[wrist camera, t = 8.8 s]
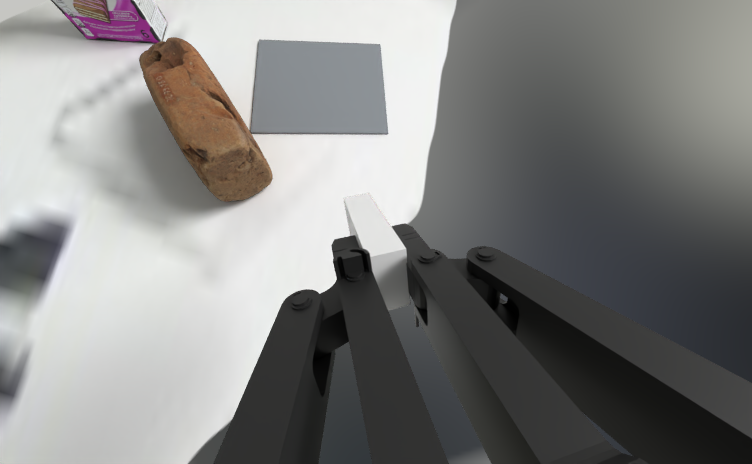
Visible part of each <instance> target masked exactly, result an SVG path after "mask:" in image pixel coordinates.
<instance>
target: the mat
mask: <svg viewBox="0 0 752 464" xmlns="http://www.w3.org/2000/svg"><path fill="white" fill-rule="evenodd" d="M251 133H260V134H388V126H387V115H386V103H385V92H384V81H383V70H382V58H381V47H380V44H360V43H334V42H308V41H281V40H259V46H258V57H257V68H256V79H255V90H254V102H253V113H252V124H251Z"/></svg>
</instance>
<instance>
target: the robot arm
mask: <svg viewBox="0 0 752 464" xmlns="http://www.w3.org/2000/svg"><path fill="white" fill-rule="evenodd" d="M343 199H344V204H345V210H346V215H347V220H348V226H349V231H350V236H349V237H344V238H339V239H335V240H334V242H333V244H332V251H333V257H334V259H333V263H334V268H335V272H336V276H337V280H336V282H335V284H334V285H333V286H332V287H331V288H330V289H328V290H327V291H325V292H323V293H321V294H319V293H318V292H316V291H314V290H301V291H298V292H295V293H293V294H291V295H290V296H289V297H287V298H286V299H285V301H284V302H283V304H282V305H281V308H280V310H279V312H278V315H277V317H276V319H275V322H274V324H273V326H272V329H271V331H270V333H269V336H268V338H267V340H266V343H265V345H264V347H263V350H262V352H261V354H260V357H259V359H258V361H257V364H256V366H255V368H254V371H253V373H252V375H251V378H250V380H249V382H248V385H247V387H246V389H245V391H244V394H243V396H242V398H241V401H240V403H239V405H238V408H237V410H236V412H235V415H234V417H233V419H232V422H231V424H230V426H229V429H228V431H227V433H226V436H225V438H224V440H223V443H222V445H221V447H220V450H219V452H218V454H217V457H216V459H215V461H214V464H319V458H320V451H321V444H322V438H323V432H324V425H325V418H326V412H327V405H328V399H329V393H330V386H331V379H332V372H333V366H334V360H335V349H337V348H339V347H340V346H342V345H344V344H345V343H347V342H349V344H350V349H351V354H352V359H353V364H354V369H355V375H356V380H357V386H358V391H359V396H360V401H361V406H362V412H363V417H364V422H365V427H366V433H367V438H368V443H369V448H370V454H371V459H372V464H449V463H448V461H447V458H446V456H445V453H444V451H443V448H442V446H441V443H440V440H439V438H438V435H437V433H436V430H435V428H434V425H433V423H432V420H431V418H430V415H429V413H428V410H427V408H426V405H425V403H424V400H423V398H422V395H421V393H420V390H419V388H418V385H417V383H416V380H415V377H414V375H413V372H412V370H411V367H410V365H409V363H408V360H407V357H406V355H405V352H404V350H403V347H402V345H401V342H400V340H399V337H398V335H397V332H396V330H395V327H394V325H393V322H392V320H391V317H390V314H389V312H388V310H392V309H396V308H399V307H403V306H407V305H410V304H411V302H410V296H411V297H412V299H413V301H414V310H415V323H416V327H418V326H419V322H420V324H421V325H422V327H423V329H424V331H425V333H426V335H427V337H428V339H429V341H430V343H431V345H432V347H433V349H434V351H435V353H436V355H437V357H438V359H439V361H440V363H441V365H442V367H443V369H444V371H445V373H446V374H447V377H448V379H449V381H450V383H451V385H452V387H453V388H454V391H455V392H456V394H457V396H458V398H459V400H460V402H461V404H462V406H463V408H464V410H465V412H466V414H467V416H468V418H469V420H470V422H471V424H472V426H473V428H474V430H475V432H476V434H477V436H478V438H479V440H480V442H481V443H482V446H483V448H484V449H485V452H486V453H487V456H488V458H489V459H490V461H491V463H492V464H752V383H750V382H748V381H746V380H745V379H743V378H741V377H739V376H737V375H735V374H733V373H731V372H729V371H728V370H726V369H724V368H722V367H720V366H718V365H716V364H714V363H712V362H710V361H709V360H707V359H705V358H703V357H701V356H699V355H697V354H695V353H693V352H691V351H689V350H688V349H686V348H683V347H682V346H680V345H678V344H676V343H674V342H672V341H671V340H668V339H667V338H665V337H663V336H661V335H659V334H657V333H655V332H653V331H652V330H650V329H648V328H646V327H644V326H642V325H640V324H638V323H636V322H634V321H633V320H630V319H629V318H627V317H625V316H623V315H621V314H619V313H617V312H615V311H614V310H612V309H610V308H608V307H606V306H604V305H602V304H600V303H598V302H596V301H595V300H593V299H590V298H589V297H587V296H585V295H583V294H581V293H579V292H577V291H576V290H574V289H572V288H570V287H568V286H566V285H564V284H562V283H560V282H558V281H557V280H555V279H553V278H551V277H549V276H547V275H545V274H543V273H541V272H539V271H537V270H536V269H534V268H532V267H530V266H528V265H526V264H524V263H522V262H520V261H518V260H517V259H515V258H513V257H511V256H509V255H507V254H505V253H503V252H501V251H500V250H497V249H495V248H492V247H486V246H482V247H475V248H472V249H471V250H469V251H468V253H467V259H448V258H447V257H446V256H445V255H444V254H443V253H441V252H440V251H437V250H435V249H430V248H429V247H428V245H427V244H426V243H425V242H424V241H423V239H422V238H421V237H420V236H419V234H418V233H417V232H416V231H415V230H414V228H413V227H411V226H409V225H407V224H400V225H396V226H391V225H390V224H389V222H388V221H387V219H386V218H385V216H384V215H383V213H382V212H381V210H380V209H379V207H378V206H377V204H376V203H375V201H374V200H373V198H372V197H371V195H370V194H369V193H366V194H360V195H355V196H350V197H345V198H343ZM501 293H502V294H503V295H505V296H506V297H508V301H507V302H506V301H504V300H502V299H501V298H500V294H501ZM582 412H583V413H584V414H585V415H586V416H587V417H588V418H590V419H591V420H592V421H593V422H594V423H596V424H597V425H598V426H599V427H600V428H601V429H603V430H604V431H605V432H606V433H607V434H608V435H610V436H611V437H612V438H613V439H614V440H616V441H617V442H618V443H619V444H620V445H621V446H622V447H624V448H625V449H626V450H627V451H628V452H629V453H631V454H632V455H633V456H630V455H627V454H623V453H621V452H619V451H618V450H616V449H615V448H614V447H613V446H612V445H611V444H610V443H609V442H608V441H607V440H606V439H605V438H604V437H603V436H602V435H601V434H600V432H599V431H598V430H597V429H596V428H595V427H594V426H593V424H592V423H591V422H590V421H589V420H588V419H587V418H586V416H585V415H584V414H583V413H582Z"/></svg>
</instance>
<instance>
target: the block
mask: <svg viewBox="0 0 752 464" xmlns="http://www.w3.org/2000/svg"><path fill="white" fill-rule="evenodd" d="M139 61H140V66H141V68H142V71H143V75H144V76H143V77H144V79H145V82H146V84H147V87H148V89H149V91H150V93H151V95H152V98H153V100H154V102H155V104H156V106H157V108H158V110H159V111H160V113H161V115H162V117H163V119H164V121H165V123H166V124H167V126H168V128H169V130H170V131H171V133H172V135H173V136H174V138H175V140H176V142H177V144H178V145H179V147H180V149H181V150H182V152H183V154H184V155H185V157H186V158H187V160H188V161H189V163H190V164H191V166H192V167H193V168H194V170H195V171H196V173H197V174H198V176H199V178H200V179H201V180H202V182H203V183H204V184H205V185H206V187H207V188H208V189H209V191H210V192H211V193H213V195H214V196H215V197H217V198H218V199H219V200H221V201H225V202H229V201H232V200H244V199H247V198H249V197H251V196H253V195H255V194H257V193H259V192H260V191H262V190H263V188H264V187H267V186H268V185H269V184H270V183H271V181H272V172H271V169H270V167H269V165H268V163H267V161H266V159H265V158H264V156H263V154H262V152H261V150H260V148H259V146H258V145H257V143H256V141H255V140H254V138H253V136H252V134H251V133H250V131H249V129H248V128H247V126H246V124H245V123H244V121H243V119H242V118H241V116H240V115H239V113H238V111H237V110H236V108H235V107H234V105H233V104H232V102H231V100H230V99H229V97H228V96H227V94H226V92H225V91H224V89H223V88H222V86H221V85H220V83H219V82H218V80H217V79H216V77H215V76H214V74H213V73H212V71H211V70H210V68H209V67H208V65H207V64H206V62H205V61H204V59H203V58H202V57H201V55H200V54H199V53H198V51H197V50H196V49H195V48H194V47H193V46H192V45H191V44H189V43H188V42H186V41H184V40H183V39H179V38H168V39H167V41H166V42H163V41H161V42H158V43H156V44H154V45H152V46H151V47H150V48H149V50H147V51H145V52H144V53H142V54H141V56H140V59H139Z"/></svg>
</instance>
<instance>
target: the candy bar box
mask: <svg viewBox="0 0 752 464" xmlns="http://www.w3.org/2000/svg"><path fill="white" fill-rule="evenodd" d="M51 1H52V2H53V3H54V4H55V5H56V6H57V7H58V8H59V9H60V10H61V11H62V13H63V14H64V15H65V16H66V17H67V18H68V19H69V20H70V21H71V22H72V23H73V25H74V26H75V27H76V28H77V29H78V30H79V31H80V32H81V33H82V34H83V35H84V36H85V37H86V38H87V39H102V40H119V41H135V42H150V43H158V42H161V41H163V38H164V33H165V30H166V27H167V21H166V19H165V17H164V16H163V14H162V12H161V11H160V9H159V8H158V6H157V4H156V3H155V1H154V0H51Z"/></svg>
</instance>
